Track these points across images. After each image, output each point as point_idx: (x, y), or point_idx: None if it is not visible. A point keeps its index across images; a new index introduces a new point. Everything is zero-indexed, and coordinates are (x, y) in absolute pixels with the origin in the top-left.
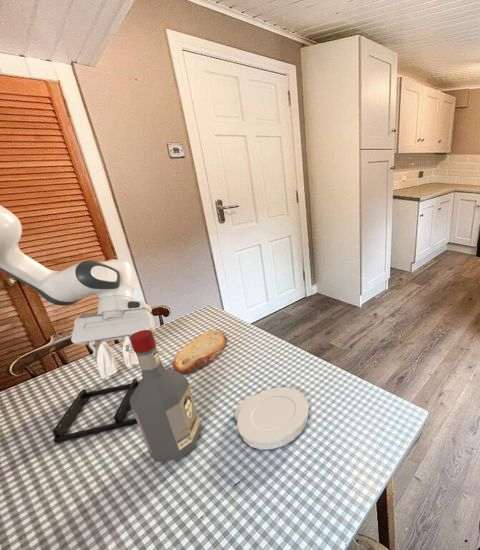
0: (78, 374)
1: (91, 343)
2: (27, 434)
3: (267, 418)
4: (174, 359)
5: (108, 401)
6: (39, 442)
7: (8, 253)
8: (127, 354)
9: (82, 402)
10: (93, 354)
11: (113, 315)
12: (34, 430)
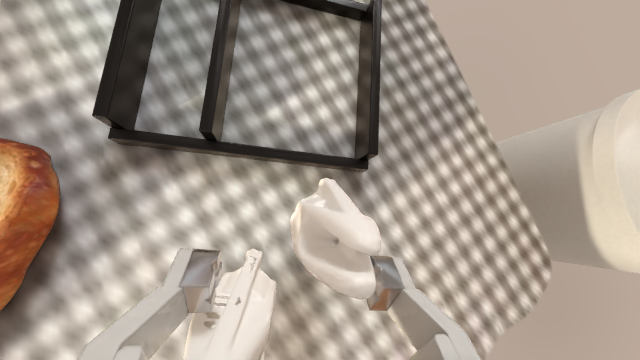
0: None
1: (461, 350)
2: (436, 81)
3: None
4: (12, 215)
5: (293, 112)
6: (401, 39)
7: None
8: (241, 285)
9: (360, 123)
10: (403, 264)
11: None
12: (429, 87)
